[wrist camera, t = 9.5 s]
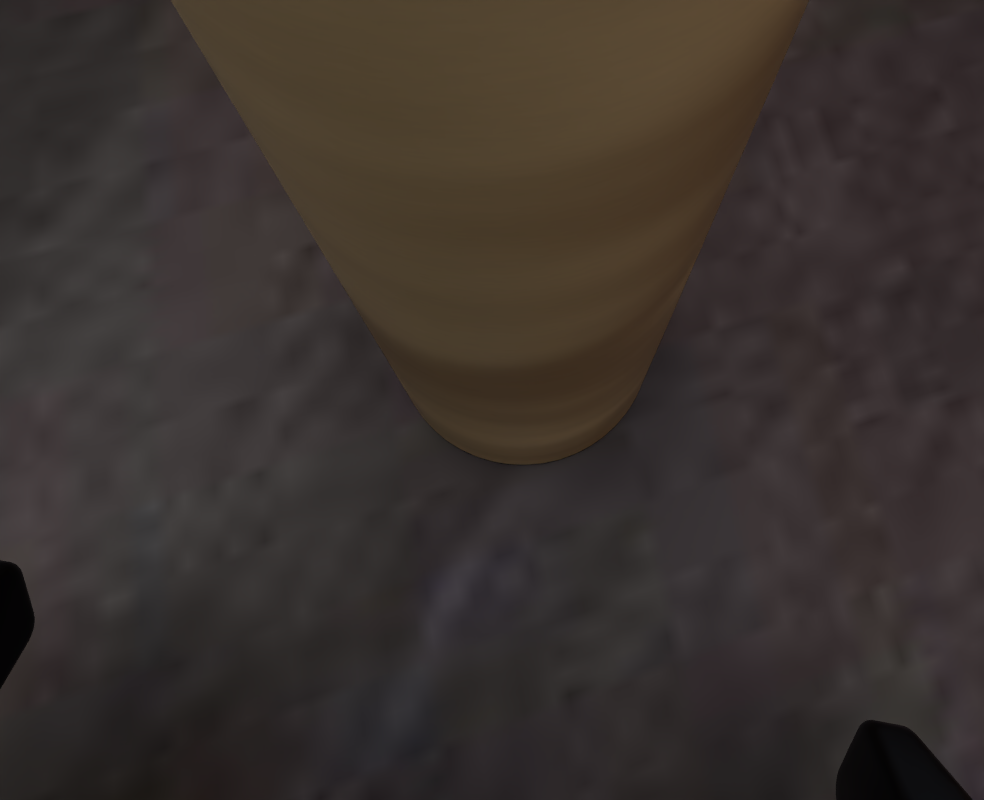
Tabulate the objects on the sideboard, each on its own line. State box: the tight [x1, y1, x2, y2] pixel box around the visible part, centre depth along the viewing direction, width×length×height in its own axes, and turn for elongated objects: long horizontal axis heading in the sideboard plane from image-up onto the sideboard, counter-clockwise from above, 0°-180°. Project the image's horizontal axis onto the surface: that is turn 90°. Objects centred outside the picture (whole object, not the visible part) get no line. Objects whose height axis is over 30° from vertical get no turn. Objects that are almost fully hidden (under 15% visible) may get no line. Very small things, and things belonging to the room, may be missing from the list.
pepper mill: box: [171, 0, 809, 465], centre depth 10 cm, size 5×5×14 cm
